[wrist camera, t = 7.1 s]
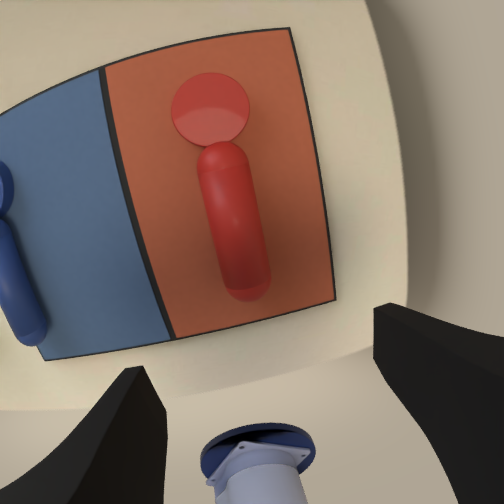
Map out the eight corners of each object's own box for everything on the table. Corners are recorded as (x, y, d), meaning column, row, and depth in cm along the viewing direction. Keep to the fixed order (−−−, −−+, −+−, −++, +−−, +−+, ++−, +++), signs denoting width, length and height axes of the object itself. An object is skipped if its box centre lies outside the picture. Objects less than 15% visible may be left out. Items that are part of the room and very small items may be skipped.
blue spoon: (-31, 171, 13) (-54, 176, 10) (7, 149, 13) (-17, 151, 11) (26, 336, 16) (11, 356, 14) (66, 329, 17) (52, 351, 14)
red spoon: (167, 87, 13) (160, 76, 11) (239, 72, 14) (244, 58, 11) (217, 297, 17) (219, 318, 15) (280, 281, 18) (291, 300, 15)
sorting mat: (334, 297, 19) (337, 301, 18) (46, 358, 18) (44, 362, 17) (288, 29, 14) (290, 26, 13) (-29, 134, 12) (-33, 134, 12)
